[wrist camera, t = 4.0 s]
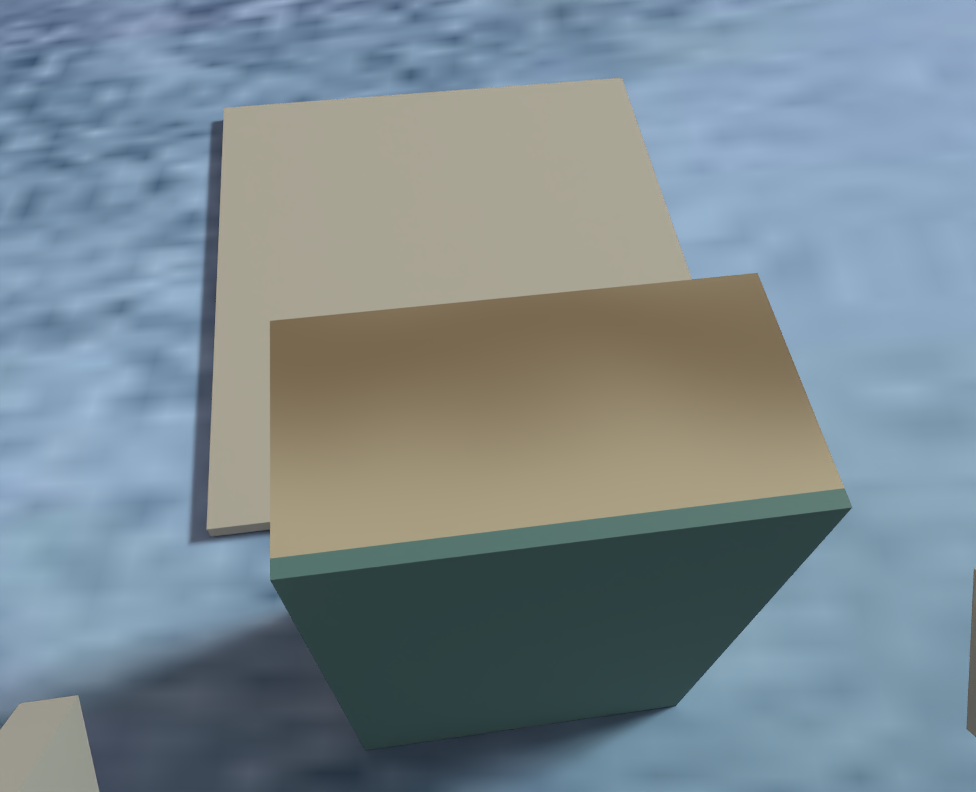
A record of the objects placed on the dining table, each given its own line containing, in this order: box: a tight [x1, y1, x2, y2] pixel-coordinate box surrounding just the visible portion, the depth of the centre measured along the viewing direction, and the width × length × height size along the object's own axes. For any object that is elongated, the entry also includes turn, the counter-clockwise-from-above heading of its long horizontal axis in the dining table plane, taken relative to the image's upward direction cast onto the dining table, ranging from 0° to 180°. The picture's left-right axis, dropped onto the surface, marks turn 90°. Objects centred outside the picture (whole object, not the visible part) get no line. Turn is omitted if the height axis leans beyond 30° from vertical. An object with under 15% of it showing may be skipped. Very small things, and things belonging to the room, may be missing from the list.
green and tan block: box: [270, 273, 852, 750], centre depth 18 cm, size 4×8×12 cm, turn 98°
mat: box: [207, 78, 692, 536], centre depth 29 cm, size 18×16×1 cm
